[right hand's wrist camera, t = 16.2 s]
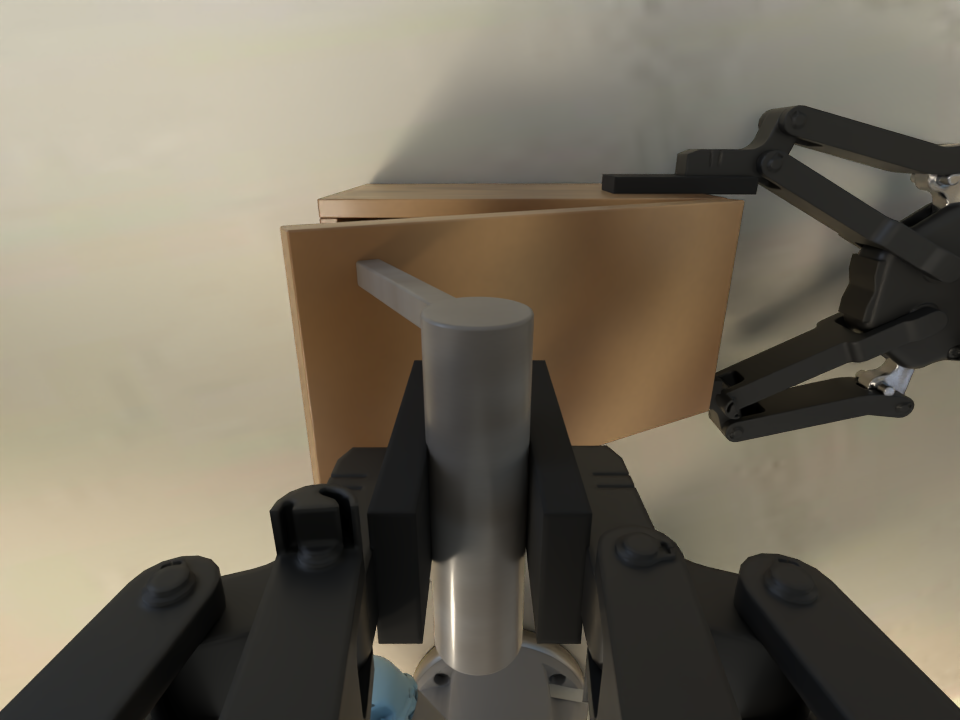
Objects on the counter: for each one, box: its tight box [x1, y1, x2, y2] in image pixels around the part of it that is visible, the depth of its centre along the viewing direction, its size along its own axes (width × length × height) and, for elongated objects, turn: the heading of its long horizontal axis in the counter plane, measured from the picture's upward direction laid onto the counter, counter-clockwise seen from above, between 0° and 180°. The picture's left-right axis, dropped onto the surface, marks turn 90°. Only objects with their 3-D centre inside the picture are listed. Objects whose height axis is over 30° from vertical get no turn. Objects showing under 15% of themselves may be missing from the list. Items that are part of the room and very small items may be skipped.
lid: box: [280, 199, 744, 676], centre depth 17 cm, size 18×9×8 cm
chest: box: [318, 183, 727, 224], centre depth 29 cm, size 17×9×11 cm, turn 90°
